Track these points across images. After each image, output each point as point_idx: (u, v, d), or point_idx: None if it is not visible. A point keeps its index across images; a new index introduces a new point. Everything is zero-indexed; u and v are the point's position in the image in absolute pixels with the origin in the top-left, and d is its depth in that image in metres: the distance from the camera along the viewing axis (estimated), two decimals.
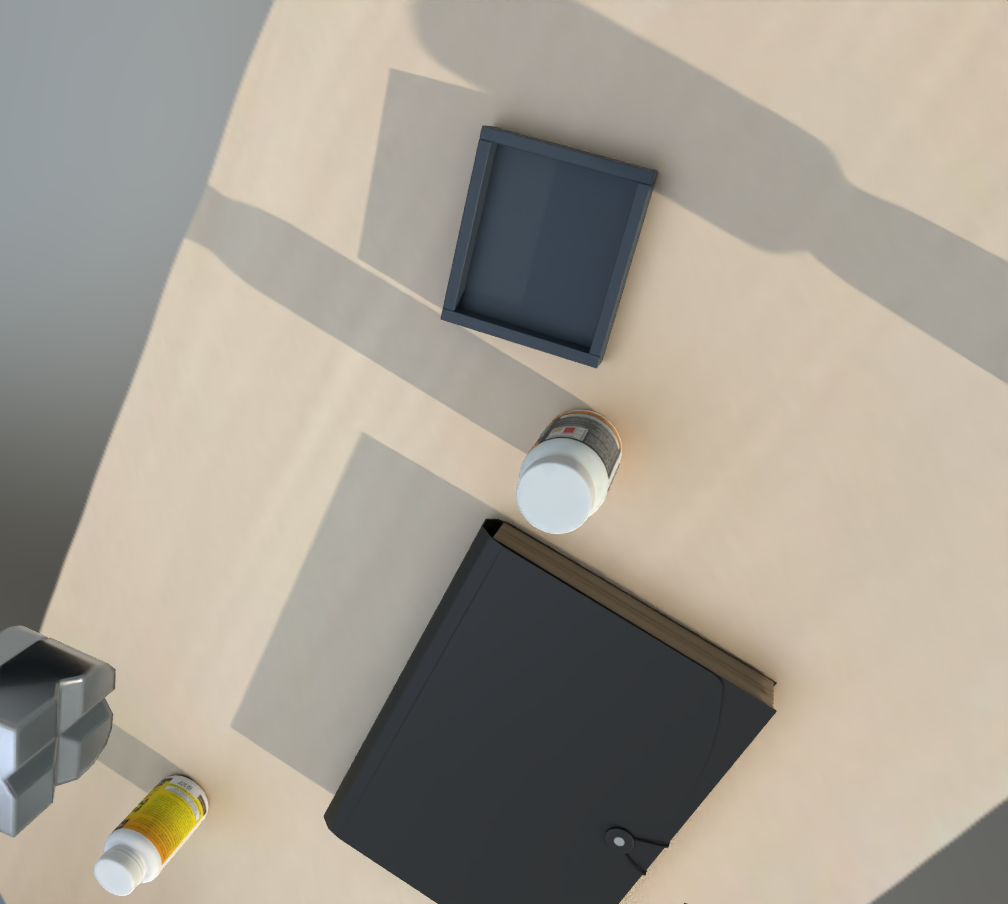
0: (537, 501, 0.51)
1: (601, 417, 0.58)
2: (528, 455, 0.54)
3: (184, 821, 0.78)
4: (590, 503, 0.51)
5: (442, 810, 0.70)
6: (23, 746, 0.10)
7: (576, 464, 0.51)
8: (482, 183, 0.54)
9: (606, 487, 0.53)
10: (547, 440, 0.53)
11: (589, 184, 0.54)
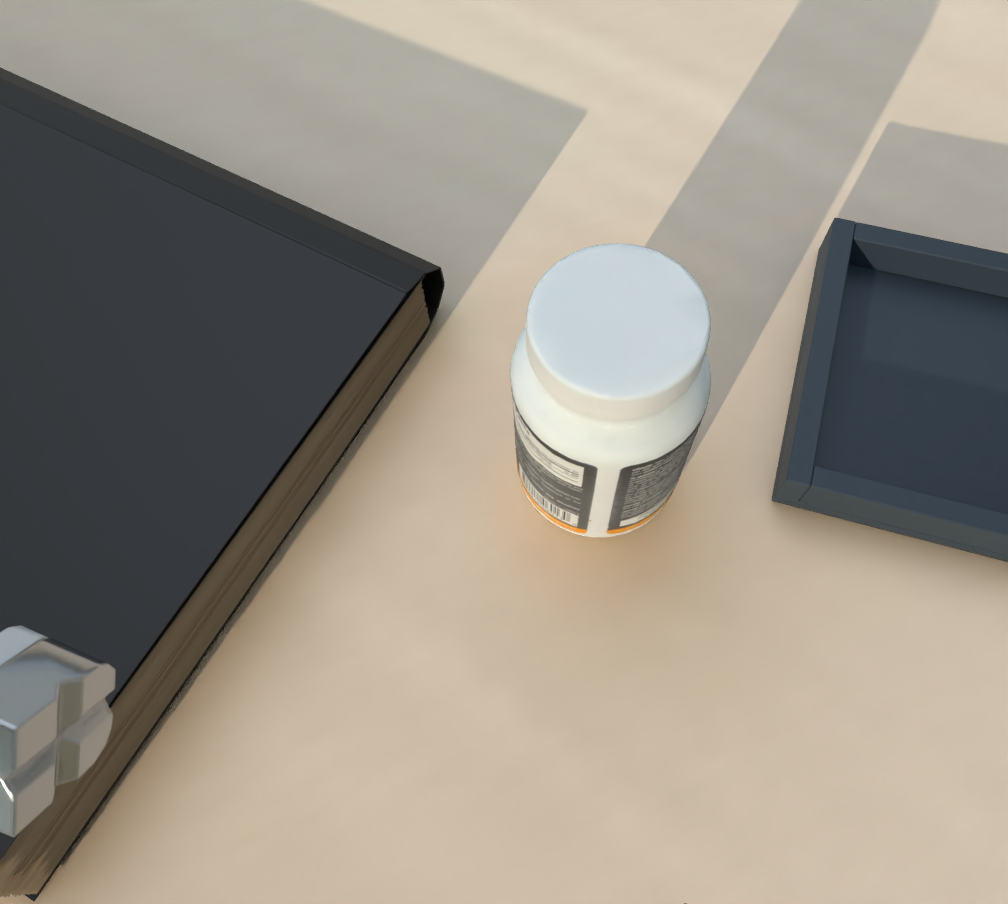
0: (607, 284, 0.22)
1: (670, 494, 0.29)
2: None
3: None
4: (616, 396, 0.21)
5: None
6: (24, 746, 0.10)
7: (695, 375, 0.22)
8: None
9: (608, 460, 0.23)
10: None
11: None
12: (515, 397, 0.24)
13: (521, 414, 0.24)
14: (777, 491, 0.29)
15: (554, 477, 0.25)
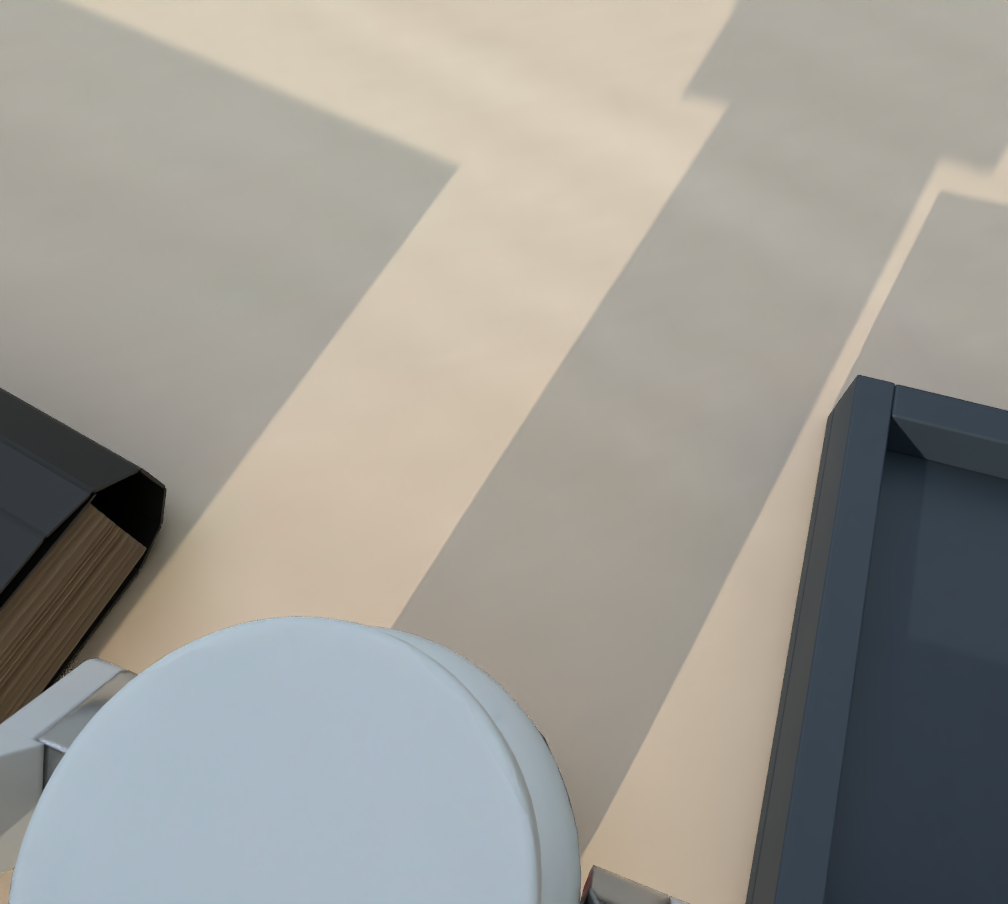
0: (259, 756, 0.08)
1: None
2: (485, 678, 0.11)
3: None
4: None
5: None
6: None
7: None
8: None
9: None
10: (561, 780, 0.10)
11: None
12: None
13: None
14: None
15: None
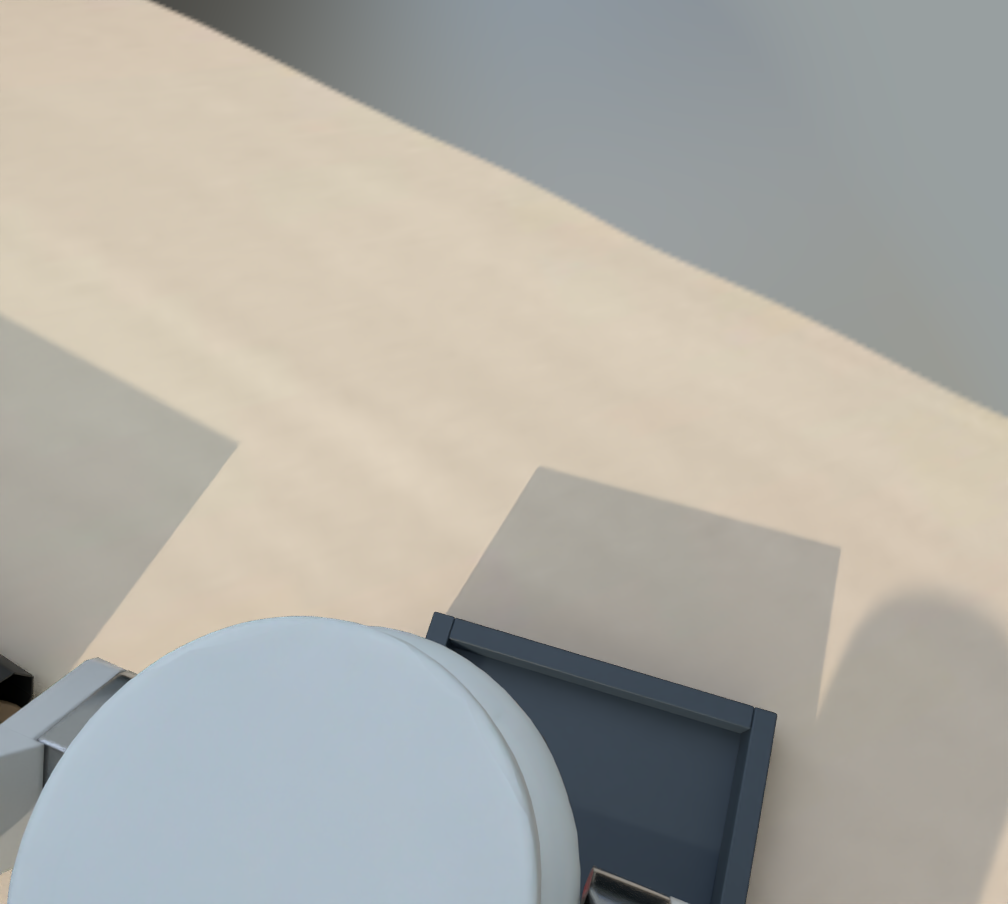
0: (259, 756, 0.08)
1: None
2: (485, 678, 0.11)
3: None
4: None
5: None
6: None
7: None
8: (677, 707, 0.30)
9: None
10: (561, 780, 0.10)
11: None
12: None
13: None
14: None
15: None
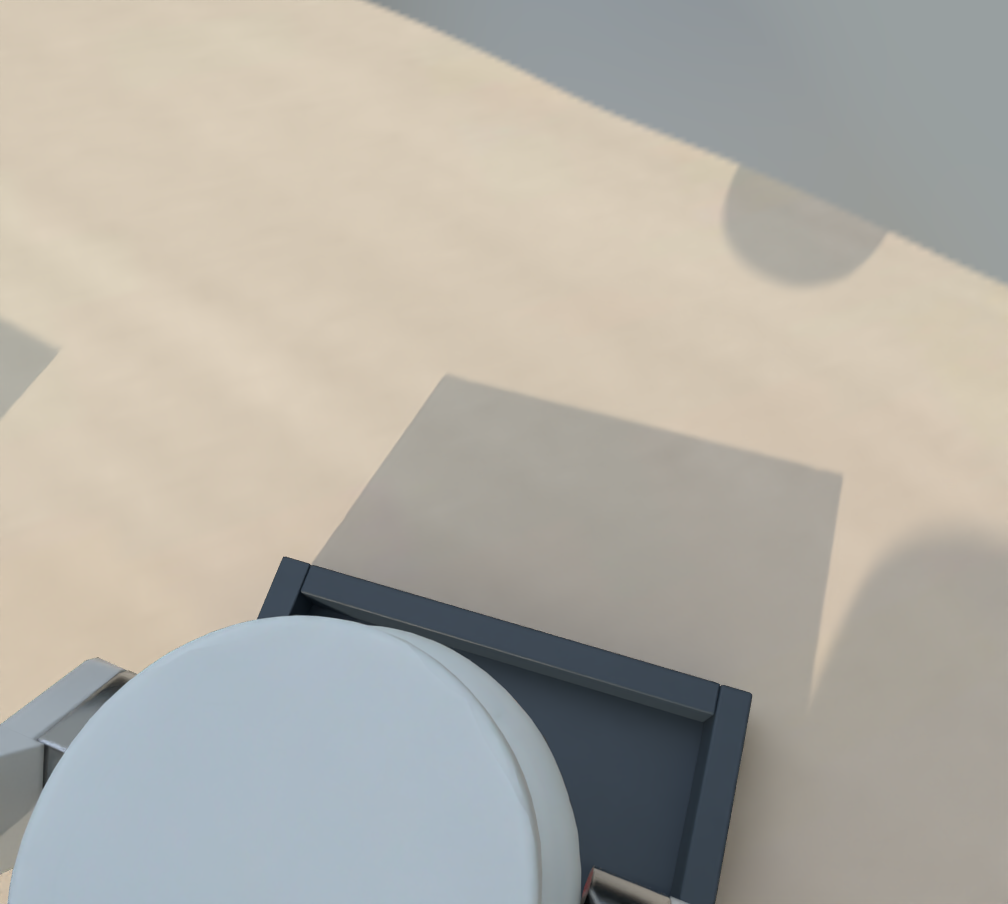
0: (260, 754, 0.08)
1: None
2: (486, 677, 0.11)
3: None
4: None
5: None
6: None
7: None
8: (612, 685, 0.21)
9: None
10: (562, 779, 0.10)
11: None
12: None
13: None
14: None
15: None
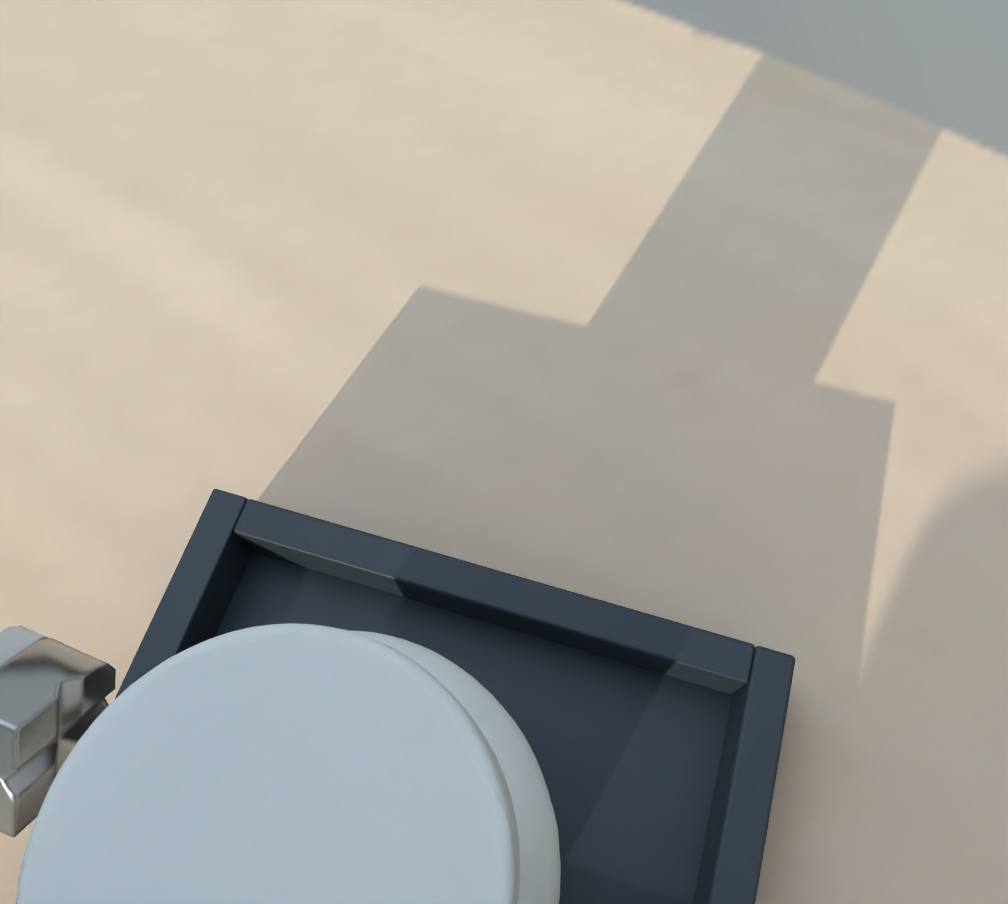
0: (253, 755, 0.08)
1: None
2: (471, 681, 0.11)
3: None
4: None
5: None
6: (22, 746, 0.10)
7: None
8: (619, 647, 0.17)
9: None
10: (543, 778, 0.11)
11: None
12: None
13: None
14: None
15: None
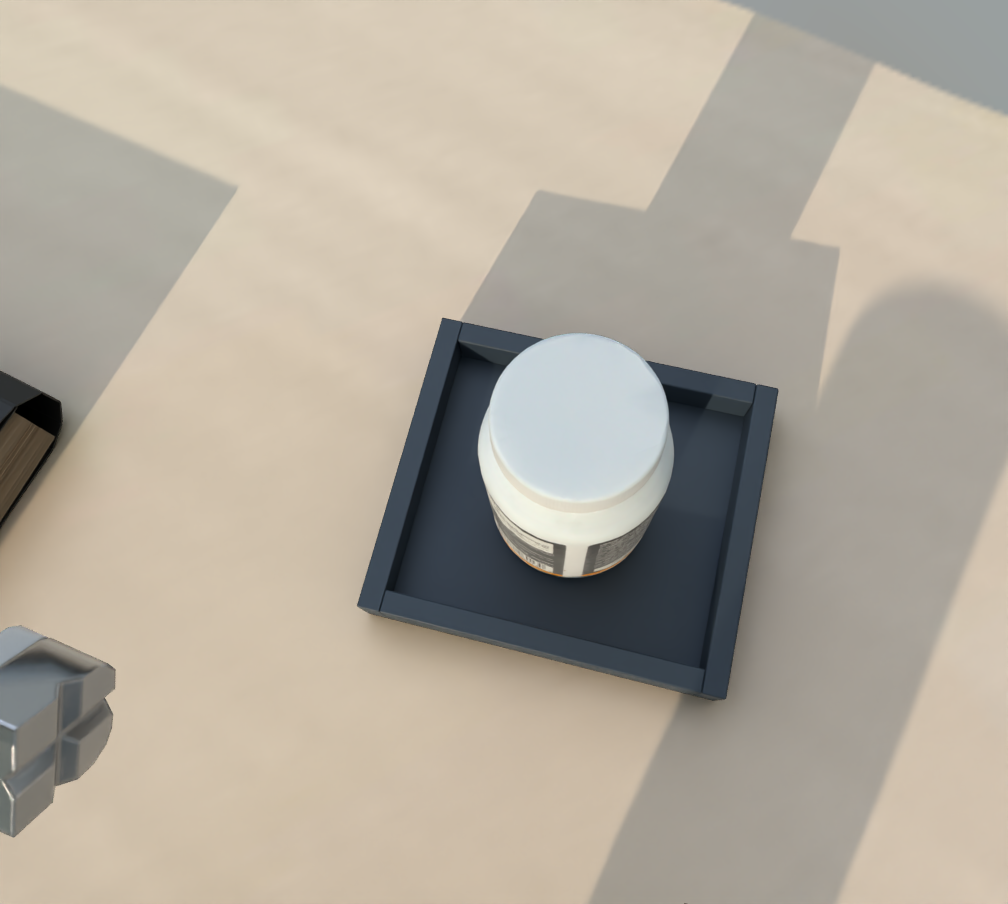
0: (567, 378, 0.22)
1: None
2: None
3: None
4: (578, 499, 0.21)
5: None
6: (24, 746, 0.10)
7: (656, 466, 0.22)
8: (681, 389, 0.31)
9: (575, 541, 0.24)
10: None
11: (686, 577, 0.30)
12: (483, 477, 0.25)
13: (490, 494, 0.25)
14: (364, 609, 0.30)
15: (526, 543, 0.26)
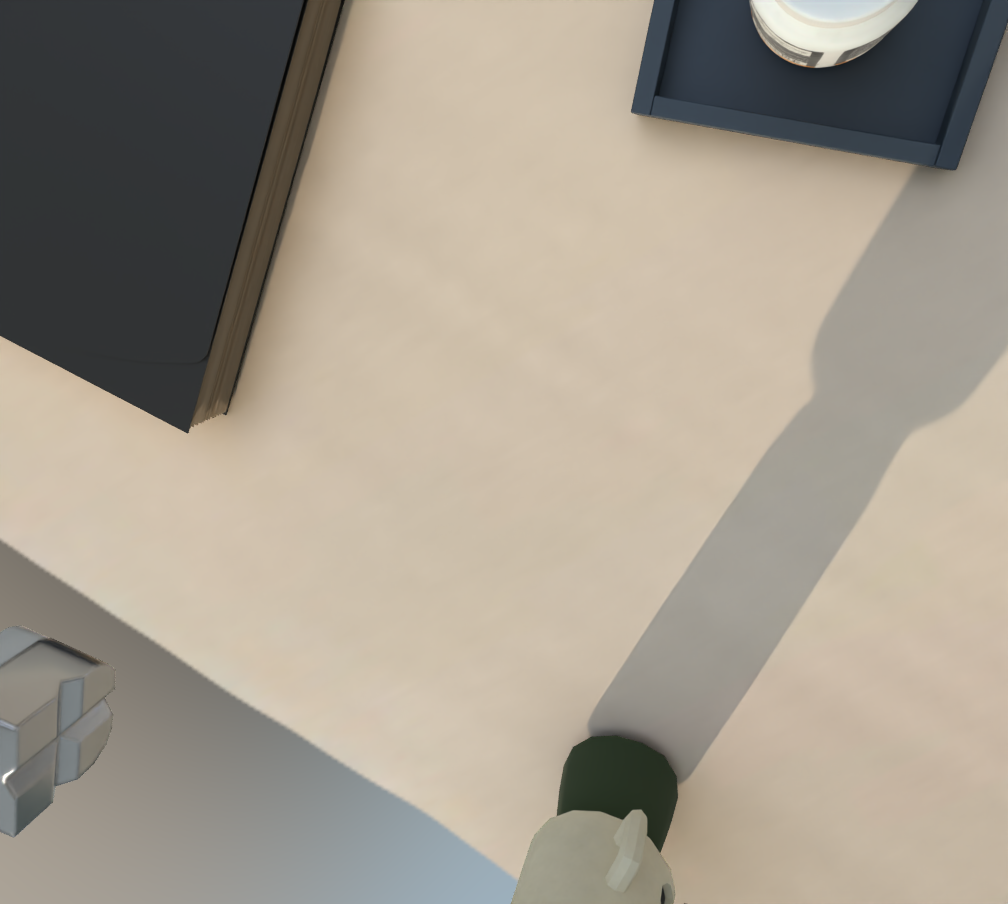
0: None
1: None
2: None
3: None
4: (841, 19, 0.25)
5: None
6: (23, 745, 0.10)
7: None
8: None
9: (833, 48, 0.27)
10: None
11: (936, 55, 0.33)
12: None
13: (756, 9, 0.28)
14: None
15: (785, 47, 0.30)
